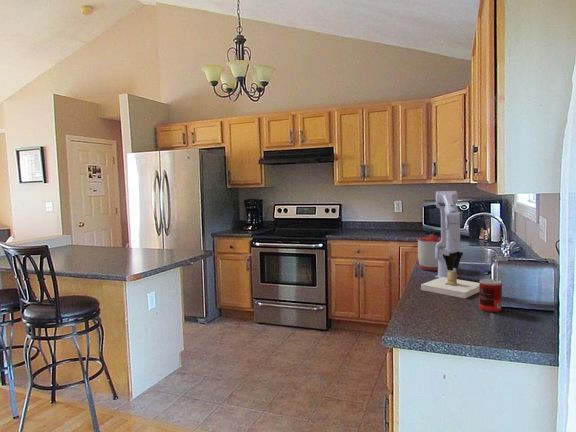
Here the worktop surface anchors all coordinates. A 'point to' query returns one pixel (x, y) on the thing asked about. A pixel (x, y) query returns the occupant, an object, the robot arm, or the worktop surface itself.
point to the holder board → (451, 287)
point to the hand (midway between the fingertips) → (452, 269)
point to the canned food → (490, 295)
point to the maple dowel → (452, 278)
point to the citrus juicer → (428, 252)
